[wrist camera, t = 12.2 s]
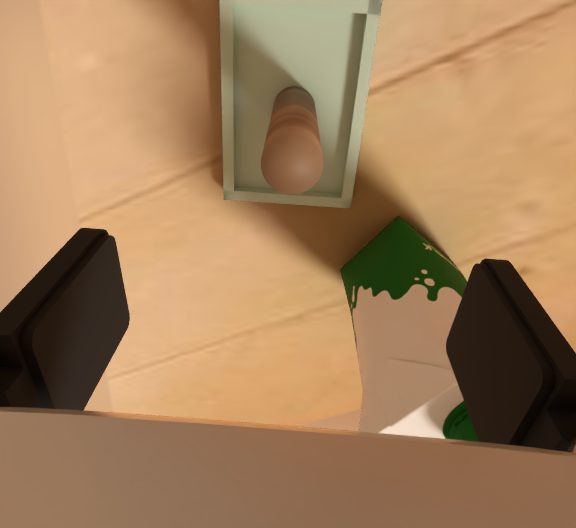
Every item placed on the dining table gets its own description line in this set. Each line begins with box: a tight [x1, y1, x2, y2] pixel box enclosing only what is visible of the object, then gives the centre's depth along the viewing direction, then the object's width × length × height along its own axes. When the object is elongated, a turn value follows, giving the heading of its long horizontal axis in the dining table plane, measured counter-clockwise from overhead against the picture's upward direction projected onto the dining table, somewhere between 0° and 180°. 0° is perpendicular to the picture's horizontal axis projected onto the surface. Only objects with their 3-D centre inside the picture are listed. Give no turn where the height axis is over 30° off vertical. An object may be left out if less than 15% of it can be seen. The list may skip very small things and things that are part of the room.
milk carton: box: [341, 216, 479, 442], centre depth 30 cm, size 9×9×20 cm
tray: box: [219, 0, 382, 208], centre depth 30 cm, size 14×10×2 cm
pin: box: [261, 86, 323, 194], centre depth 25 cm, size 3×3×12 cm
